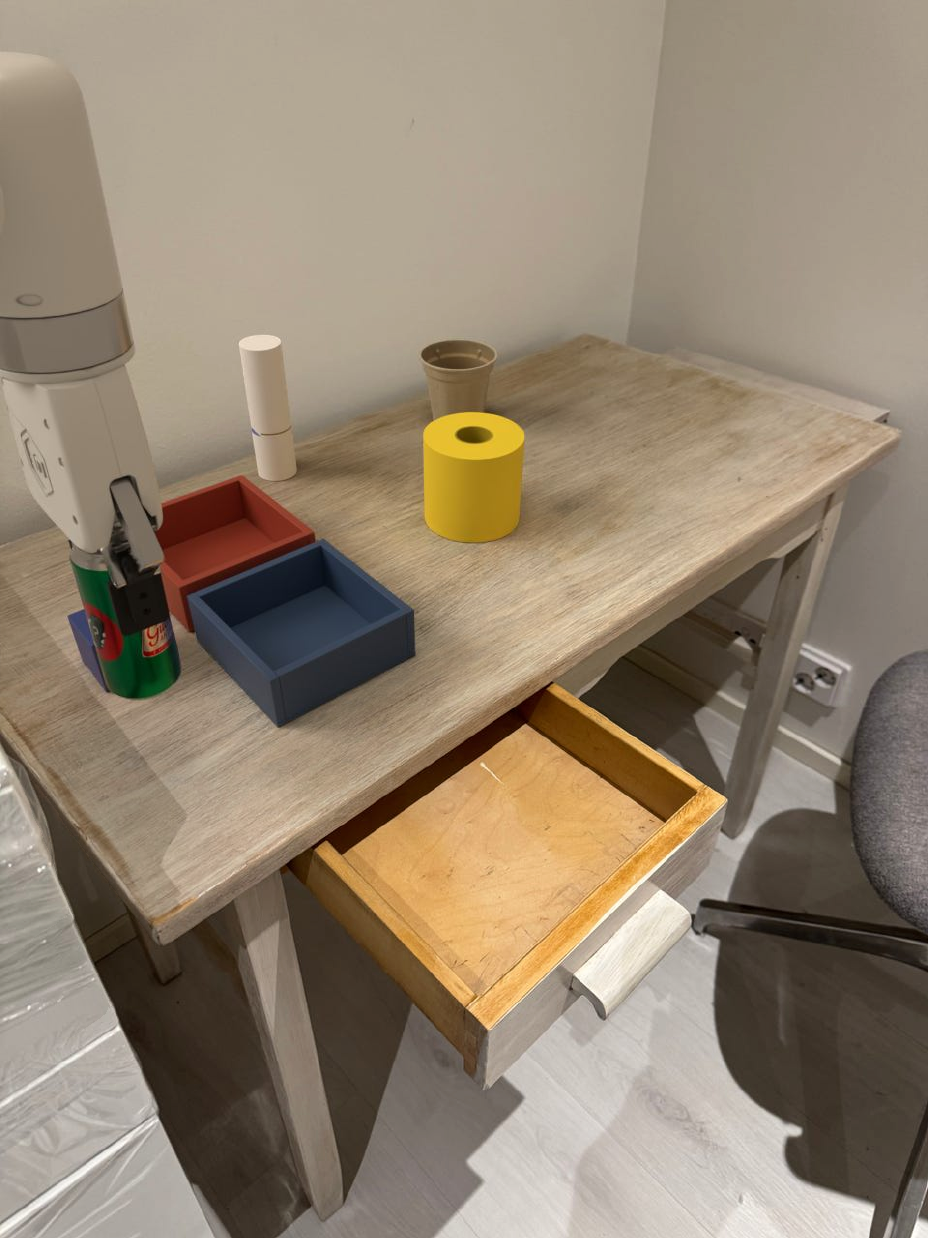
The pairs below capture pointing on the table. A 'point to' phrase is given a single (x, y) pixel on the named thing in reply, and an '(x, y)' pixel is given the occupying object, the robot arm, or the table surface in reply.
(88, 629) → the blue block
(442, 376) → the flower pot
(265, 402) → the tube
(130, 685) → the soda can
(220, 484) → the red bin
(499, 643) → the table surface
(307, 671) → the blue bin
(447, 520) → the tape roll
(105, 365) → the robot arm
